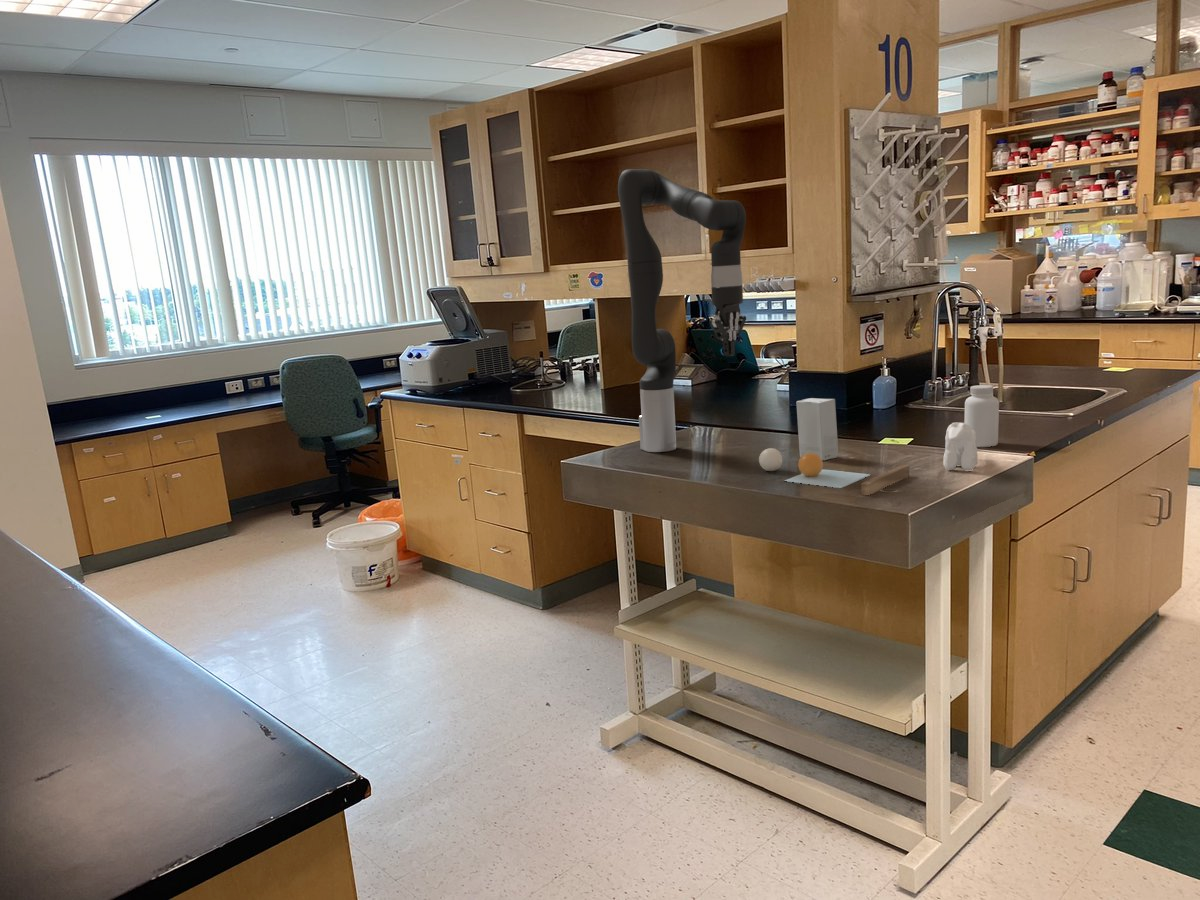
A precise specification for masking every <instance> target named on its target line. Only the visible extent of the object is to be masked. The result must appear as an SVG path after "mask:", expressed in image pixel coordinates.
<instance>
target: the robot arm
mask: <svg viewBox="0 0 1200 900" xmlns="http://www.w3.org/2000/svg"><path fill="white" fill-rule="evenodd" d="M617 183H618V184H617V195H618V199H619V200H618V201H619V206H620V213H621V216H622V217H621V218H622V224H623V227H624V228H623V229H624V236H625V237H624V240H625V245H626V257H627V270H628V271H627V272H628V280H629V291H630V292H629V293H630V303H631V348H632V349H631V350H632V353H633V356H634V358H635V360H636V361H637V363H639V365H640V364H641V365H643V366H646V367H647V369H646V371H645V373H644V374H643V376H641V378H640V379H639V394H640V396H639V397H640V409H641V410H640V411H641V412H640V414H641V415H639V416H638V426H639V430H638V431H639V445H640V447H639V448H640V450H641V449H642V450H643V451H644V452H649V453H661V452H662V453H663V452H671V451H675V450H676V449H677V437H676V435H677V434H676V433H677V432H676V415H675V414H676V413H675V412H676V411H675V392H674V381H675V377H676V373H677V369H676V368H677V367H676V363H677V360H676V359H677V356H676V355H677V354H676V350H677V349H676V343H675V340H674V336H673V335H672V334H671V333H670V331H668V330H666V329H665V328H657V321H656V309H657V304H658V301H659V298H660V293H661V290H662V287H663V282H664V269H663V258H662V253H661V251H660V248H659V246H658V245H657V243H656V241H655V240H654V238H653V237H652V235H651V233H650V232H649V229H648V228H647V225H646V222H645V218H644V211H643V206H651V205H659V206H665V207H668V208H671V209H672V211H673V212H674V213H675V214H677V215H678V216H680V217H683V218H684V219H689V220H692V221H694V222H696V223H697V224H699V225H701V226H702V227H703V228H705V229H707V230H710V231H716V232H717V231H722V235H721V238H720V240H717V241H715V242H714V243H712V245H711V246H710V248H711V249H710V255H711V274H710V280H711V281H710V282H711V283H710V284H711V287H710V289H711V303H712V304H711V305H712V306H714V307H715V311H714V315H715V316H714V318H713V319H709V325H710V327H711V329H712V331H713V334H714V335H715V337H716V338H717V339H718V340H721V341H722V343H723V344H722V345H723V356H725V357H734V356H735V355H736V348H735V346H736V345H735V344H736V340H737V338H740V336H741V334H742V331H743V328H744V326H745V324H746V321H747V316H746V315H742V314H741V308H740V305H741V304H743V303H744V292H743V291H744V290H743V271H742V266H741V264H742V263H741V259H742V258H741V245H742V242H743V237H744V232H745V227H746V224H747V214H746V213H747V212H746V210H745V207H744V205H743V203H741V202H740V201H739V200H732V199H730V200H727V199H726V200H723V199H714V198H713V197H712V196H711V195H710V194H708V193H707V192H706V193H705V192H703V191H699V190H696V189H693V188H690V187H686V186H683V185H681V184H678V183H677V182H673V181H672V180H670V179H668V178H667V177H665V176H664V175H662V174H661V173H658V172H657V171H655V170H652V169H646V168H645V169H644V168H643V169H641V168H639V169H638V168H637V169H635V168H633V169H632V168H631V169H630V168H629V169H624V170H622V172H621V174H620V176H619V178H618V182H617Z"/></svg>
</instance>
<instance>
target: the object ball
mask: <svg viewBox="0 0 1200 900" xmlns="http://www.w3.org/2000/svg"><path fill="white" fill-rule="evenodd" d="M797 466H798V469H799V472H800V474H803V475H805V476H808V477H813V476H816V475H818V474H819V473H820V472H821V471H822V469H823V468H824V463H823V460H822V459H821V458H820V457H819V456H818V455H817V454H814V453H807V454H804V455H803V456H802V457H799V460H798V464H797Z"/></svg>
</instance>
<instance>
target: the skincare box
mask: <svg viewBox="0 0 1200 900" xmlns="http://www.w3.org/2000/svg"><path fill="white" fill-rule="evenodd" d="M795 403H796V404H795V405H796V415H797V416H796V418H797V431H798V433H797V434H798V447H799V458H801V457H802V456H803V455H804V454H807V453H814V454H817V455H818V456H819V457H820V458H821V459H822V461H827V460H832V459H836V458H838V457H839V443H838V429H837V427H838V426H837V411H836V410H837V409H836V399H835V398H815V397H810V398H804V399H801V400H797V401H796V402H795Z"/></svg>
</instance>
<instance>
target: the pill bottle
mask: <svg viewBox="0 0 1200 900" xmlns="http://www.w3.org/2000/svg"><path fill="white" fill-rule="evenodd" d="M969 389H970V391H969V393H970V395H971V396H969V397H967V398H966V399H965V401H964V421H963V423H966V424H968V425H969V426H970V427H971V429H972V430H974V431H975V433H976V441H975V444H976V447H977V448H990V447H991V446H992V447H995V446H997V445H998V441H999V421H1000V420H999V419H1000V418H999V415H1000V400H999V399H998V397H995V396H993V395H994V386H993V385H989V384H981V385H980V384H979V385H972V386H970V388H969Z"/></svg>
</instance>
